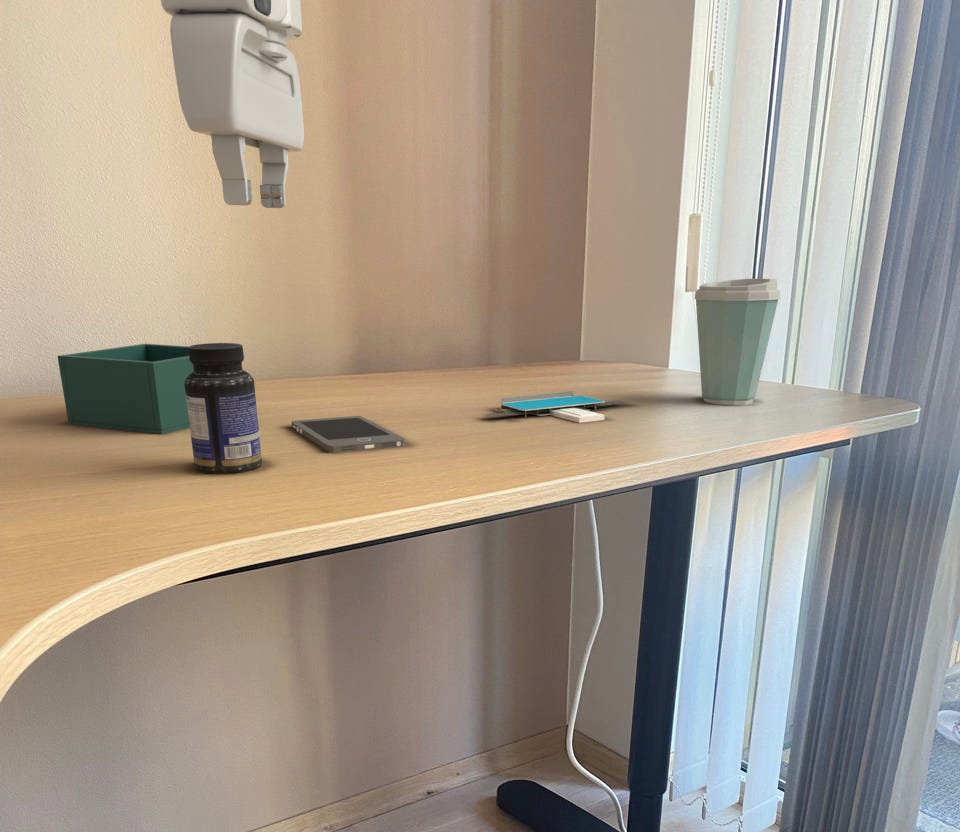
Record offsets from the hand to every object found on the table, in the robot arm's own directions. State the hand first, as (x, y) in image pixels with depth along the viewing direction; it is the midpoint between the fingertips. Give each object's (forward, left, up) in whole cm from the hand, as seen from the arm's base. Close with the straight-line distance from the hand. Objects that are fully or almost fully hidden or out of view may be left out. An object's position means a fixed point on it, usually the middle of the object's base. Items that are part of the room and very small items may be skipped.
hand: (257, 206), depth 78 cm
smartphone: (-4, +17, -22) cm, 28 cm away
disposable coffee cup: (+28, +58, -22) cm, 68 cm away
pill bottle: (-6, 0, -22) cm, 23 cm away
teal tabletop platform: (+12, +40, -22) cm, 48 cm away
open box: (-29, +16, -22) cm, 40 cm away
